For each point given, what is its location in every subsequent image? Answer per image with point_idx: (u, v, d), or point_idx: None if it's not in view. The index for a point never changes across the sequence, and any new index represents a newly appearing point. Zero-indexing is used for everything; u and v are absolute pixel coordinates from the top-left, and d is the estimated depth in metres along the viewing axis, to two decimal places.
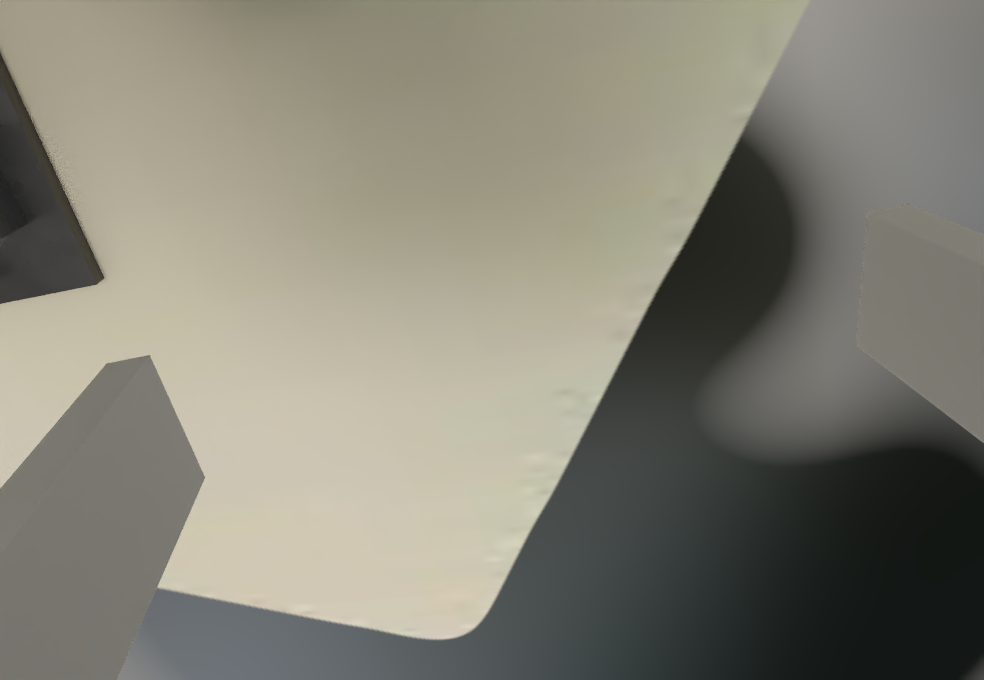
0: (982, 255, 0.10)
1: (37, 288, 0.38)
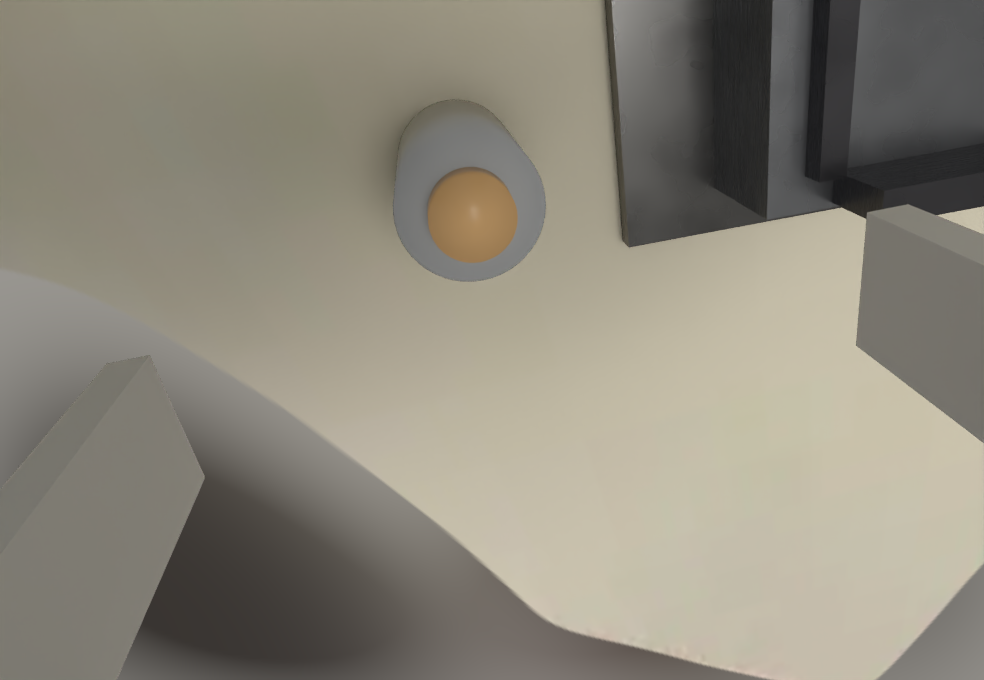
0: (982, 255, 0.10)
1: None
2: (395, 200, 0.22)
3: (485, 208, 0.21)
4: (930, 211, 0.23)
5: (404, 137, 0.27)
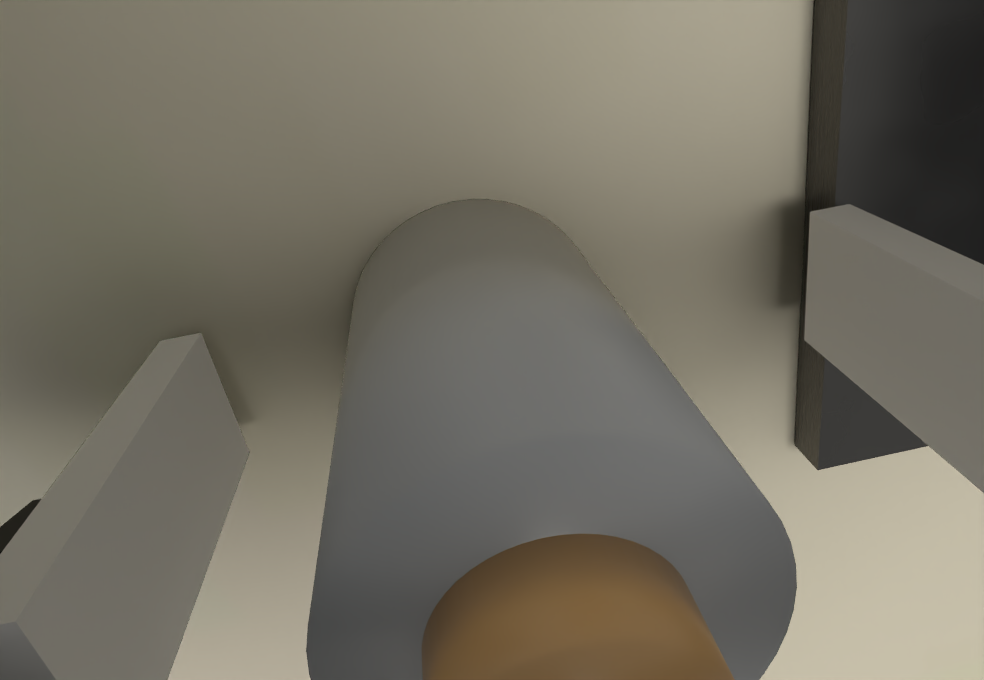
0: (907, 252, 0.10)
1: None
2: (313, 643, 0.06)
3: None
4: None
5: (362, 299, 0.12)
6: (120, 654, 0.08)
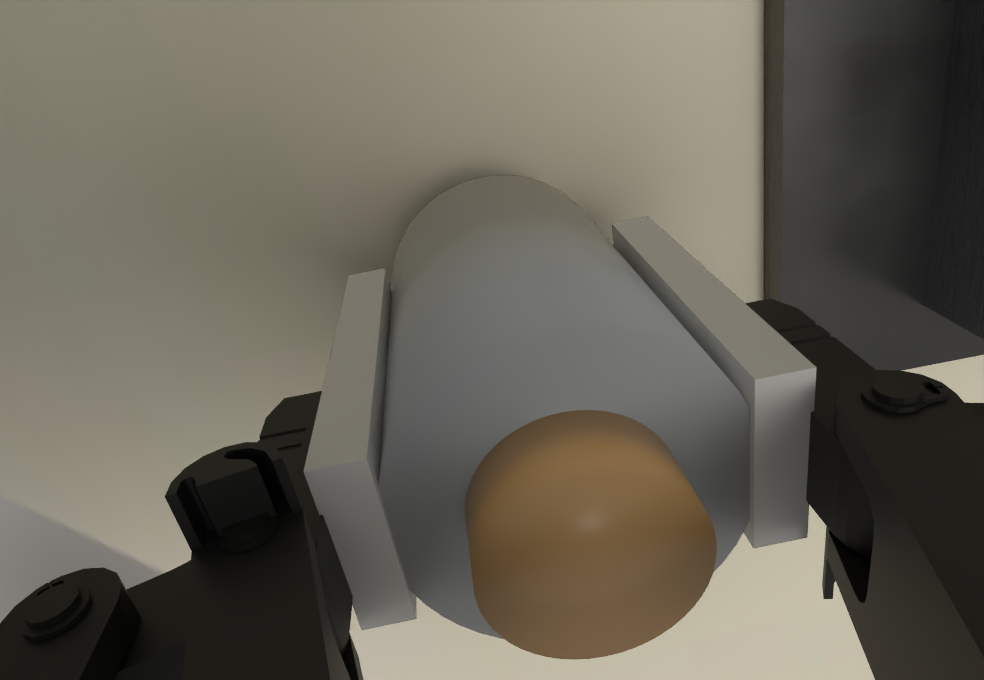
0: (660, 262, 0.12)
1: None
2: (383, 491, 0.08)
3: (632, 544, 0.08)
4: None
5: (406, 255, 0.14)
6: None
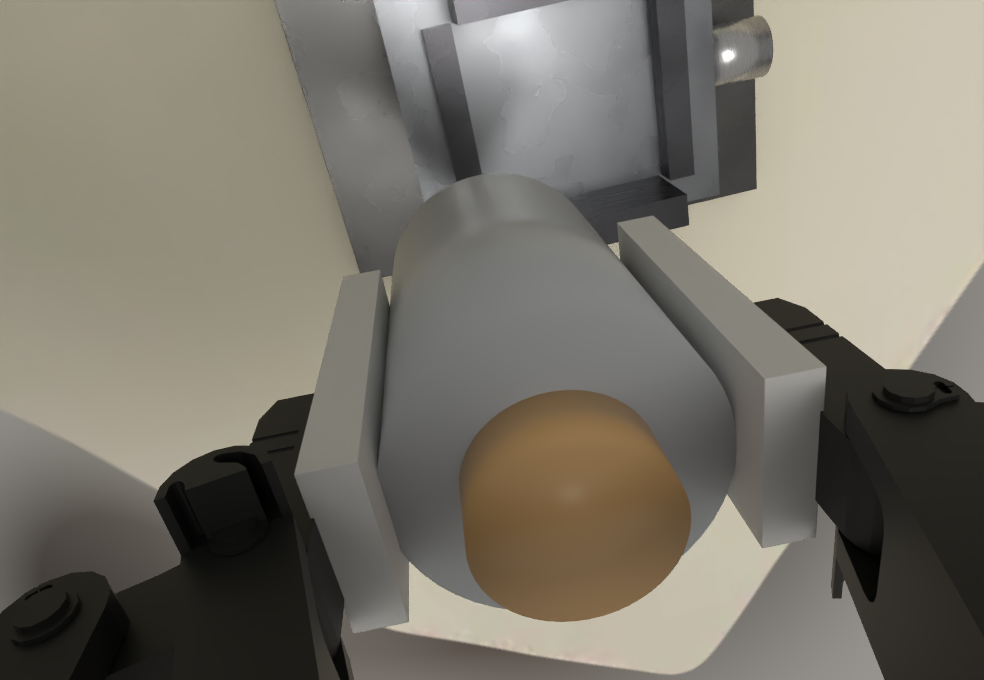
0: (667, 261, 0.12)
1: None
2: (382, 465, 0.09)
3: (613, 512, 0.08)
4: None
5: (405, 249, 0.14)
6: None
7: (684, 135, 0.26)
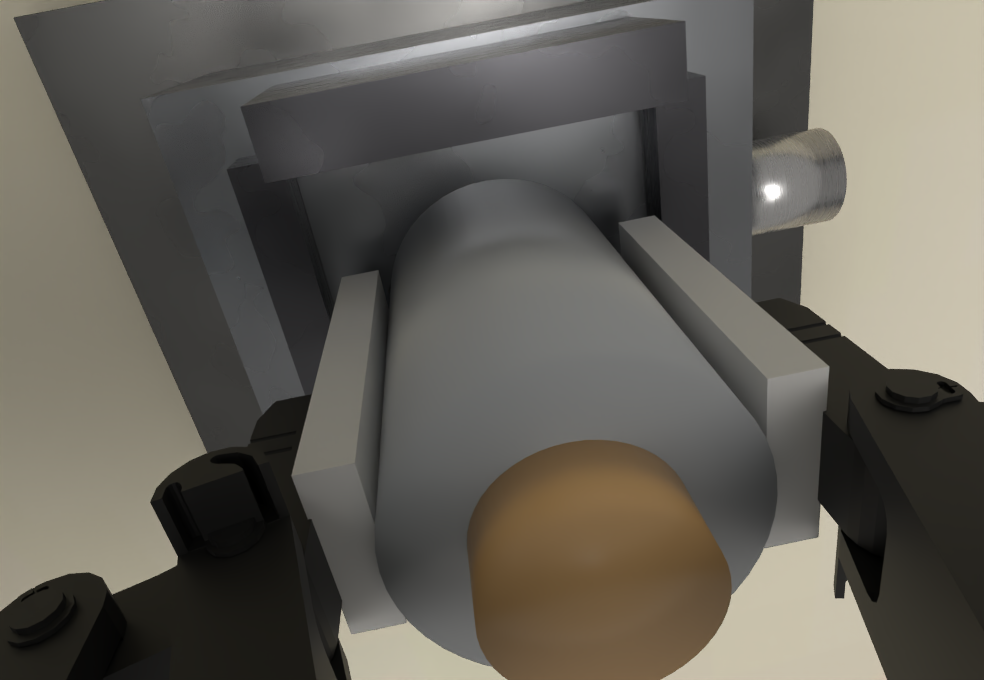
0: (669, 261, 0.12)
1: (797, 9, 0.18)
2: (381, 523, 0.08)
3: (643, 584, 0.07)
4: None
5: (405, 263, 0.13)
6: None
7: None
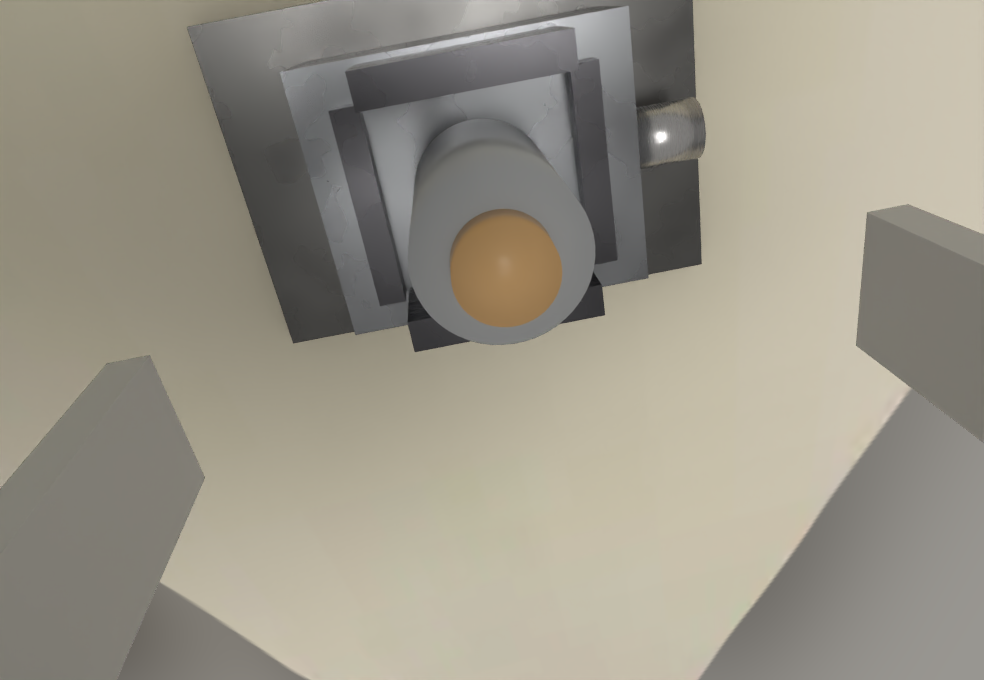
0: (982, 255, 0.10)
1: (682, 21, 0.28)
2: (410, 247, 0.18)
3: (522, 262, 0.17)
4: (460, 338, 0.25)
5: (423, 162, 0.23)
6: None
7: (605, 221, 0.25)
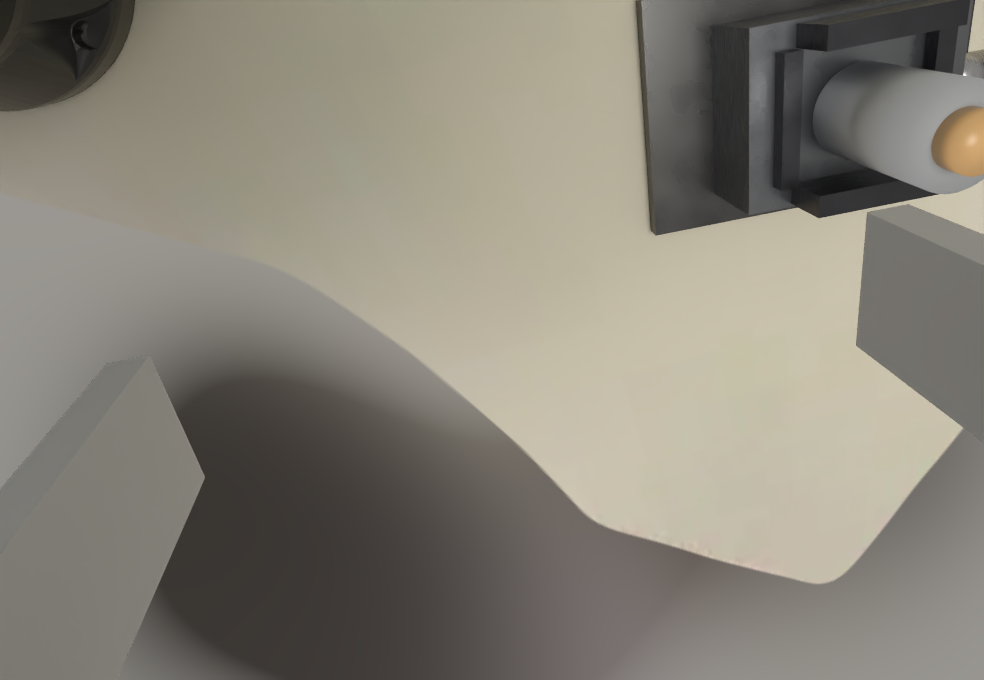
0: (982, 255, 0.10)
1: None
2: (915, 127, 0.30)
3: None
4: (849, 208, 0.37)
5: (846, 87, 0.35)
6: None
7: None
